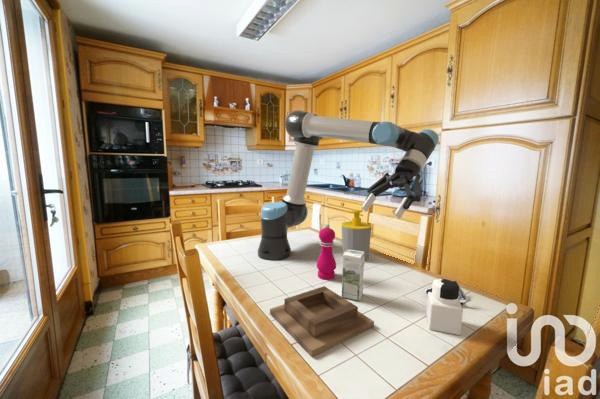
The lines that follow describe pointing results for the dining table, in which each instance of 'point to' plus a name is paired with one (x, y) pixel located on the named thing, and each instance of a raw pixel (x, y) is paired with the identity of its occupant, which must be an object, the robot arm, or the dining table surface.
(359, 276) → the syrup box
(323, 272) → the pepper mill
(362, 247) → the soap bottle
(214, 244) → the dining table surface
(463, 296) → the snack package
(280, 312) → the walnut holder
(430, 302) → the white bottle
